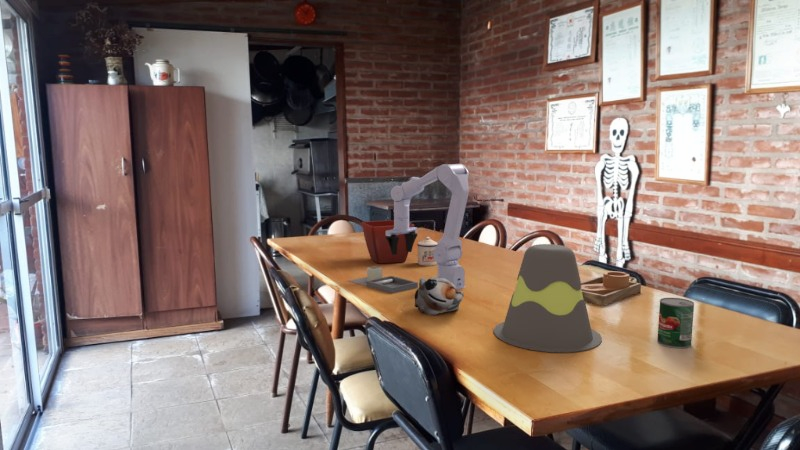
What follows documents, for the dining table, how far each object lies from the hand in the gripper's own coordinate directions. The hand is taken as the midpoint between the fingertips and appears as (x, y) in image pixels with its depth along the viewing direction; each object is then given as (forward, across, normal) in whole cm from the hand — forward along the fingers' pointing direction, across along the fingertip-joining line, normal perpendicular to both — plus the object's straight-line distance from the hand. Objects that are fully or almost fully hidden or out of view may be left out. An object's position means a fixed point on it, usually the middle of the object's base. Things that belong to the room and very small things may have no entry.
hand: (401, 252), depth 217 cm
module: (+9, +12, -2) cm, 15 cm away
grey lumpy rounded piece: (+10, +21, +41) cm, 47 cm away
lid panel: (+10, +13, -4) cm, 17 cm away
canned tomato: (+10, -2, +101) cm, 102 cm away
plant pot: (+10, -19, -30) cm, 37 cm away
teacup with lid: (+10, -28, -12) cm, 32 cm away
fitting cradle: (+10, -34, +64) cm, 73 cm away
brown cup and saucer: (+10, -34, +64) cm, 73 cm away
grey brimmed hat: (+10, +16, +75) cm, 77 cm away
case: (+10, +13, +9) cm, 19 cm away
